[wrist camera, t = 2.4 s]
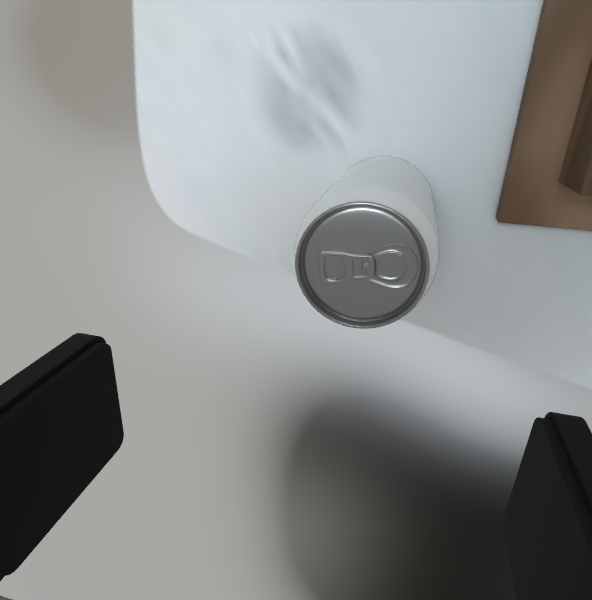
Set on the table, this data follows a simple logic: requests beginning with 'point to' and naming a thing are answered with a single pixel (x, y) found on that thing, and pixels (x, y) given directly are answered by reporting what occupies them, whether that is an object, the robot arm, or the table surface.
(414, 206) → the can
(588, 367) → the table surface
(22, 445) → the robot arm
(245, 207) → the table surface
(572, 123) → the holder
